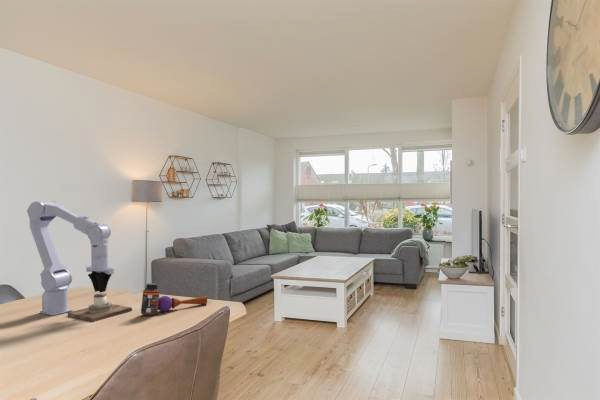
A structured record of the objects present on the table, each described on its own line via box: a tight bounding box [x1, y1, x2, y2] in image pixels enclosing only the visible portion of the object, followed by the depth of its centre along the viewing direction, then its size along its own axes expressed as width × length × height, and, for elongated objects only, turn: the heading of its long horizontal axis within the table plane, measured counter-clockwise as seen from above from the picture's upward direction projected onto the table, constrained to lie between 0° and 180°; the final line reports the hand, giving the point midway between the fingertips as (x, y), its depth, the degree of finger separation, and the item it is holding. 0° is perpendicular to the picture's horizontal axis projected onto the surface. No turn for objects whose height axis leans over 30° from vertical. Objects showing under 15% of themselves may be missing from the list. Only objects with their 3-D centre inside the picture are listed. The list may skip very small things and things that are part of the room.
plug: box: [93, 292, 108, 307], centre depth 153 cm, size 4×4×6 cm
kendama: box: [158, 295, 208, 313], centre depth 158 cm, size 6×6×20 cm
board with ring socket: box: [67, 301, 133, 322], centre depth 153 cm, size 16×16×3 cm
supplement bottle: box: [140, 282, 160, 316], centre depth 150 cm, size 6×6×11 cm
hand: (100, 291), depth 153 cm, fingers open, 2 cm apart
